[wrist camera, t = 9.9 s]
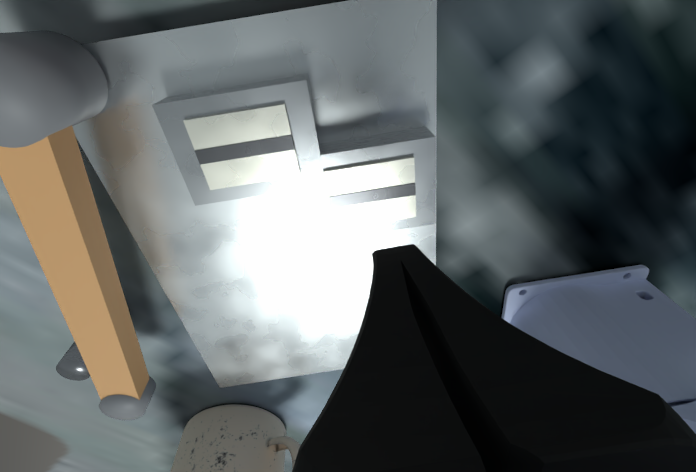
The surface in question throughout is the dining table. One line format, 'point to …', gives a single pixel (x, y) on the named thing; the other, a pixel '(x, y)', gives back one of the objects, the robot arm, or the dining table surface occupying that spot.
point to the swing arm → (68, 206)
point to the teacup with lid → (234, 441)
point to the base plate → (271, 173)
